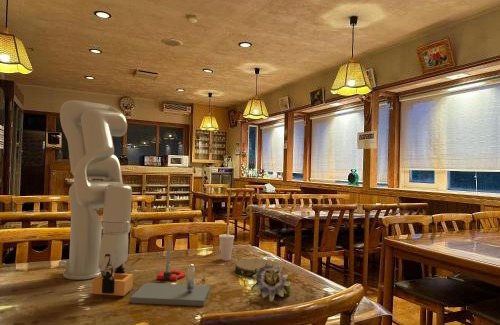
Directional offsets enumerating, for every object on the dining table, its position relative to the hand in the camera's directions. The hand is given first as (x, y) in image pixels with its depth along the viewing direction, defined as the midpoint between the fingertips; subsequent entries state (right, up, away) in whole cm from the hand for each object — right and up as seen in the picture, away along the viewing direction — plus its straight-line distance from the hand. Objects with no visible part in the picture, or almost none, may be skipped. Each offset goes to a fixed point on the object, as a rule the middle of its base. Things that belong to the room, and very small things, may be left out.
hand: (113, 287), depth 101 cm
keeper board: (+17, -2, -1) cm, 18 cm away
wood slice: (+42, -4, +26) cm, 50 cm away
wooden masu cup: (0, -1, 0) cm, 1 cm away
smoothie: (+30, -3, +41) cm, 51 cm away
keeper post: (+22, -1, -1) cm, 23 cm away
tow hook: (+13, -3, +17) cm, 22 cm away
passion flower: (+46, -3, +2) cm, 46 cm away
